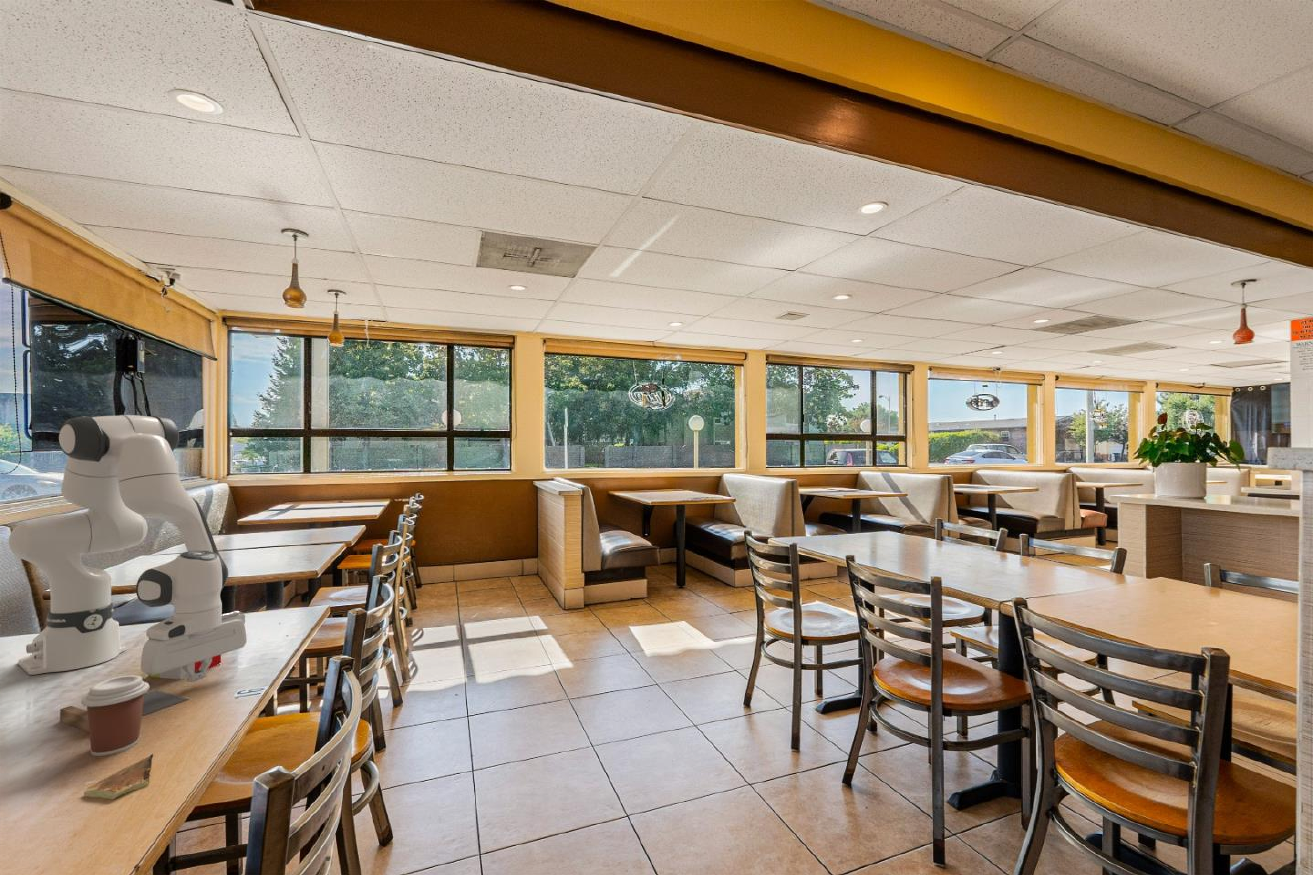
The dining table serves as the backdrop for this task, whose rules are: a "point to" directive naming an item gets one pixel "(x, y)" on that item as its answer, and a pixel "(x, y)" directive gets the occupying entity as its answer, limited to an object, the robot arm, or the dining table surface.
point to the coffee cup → (115, 713)
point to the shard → (123, 780)
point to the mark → (159, 701)
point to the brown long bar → (75, 717)
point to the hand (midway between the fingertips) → (196, 679)
